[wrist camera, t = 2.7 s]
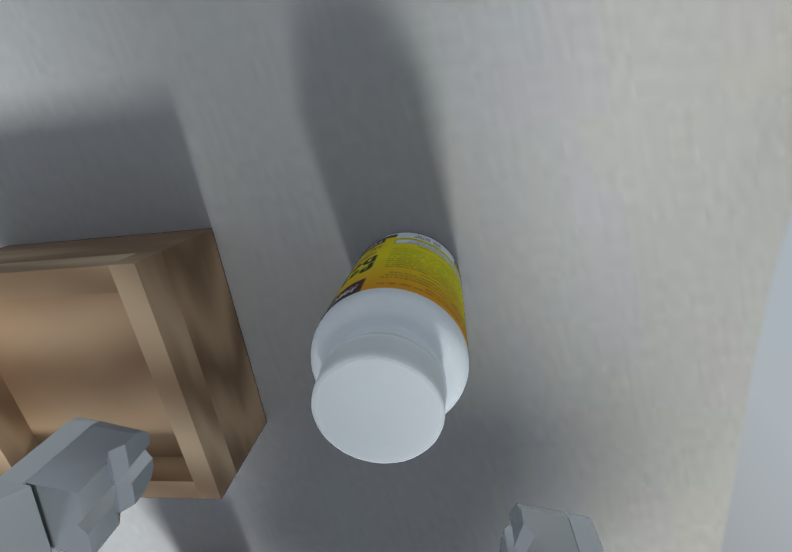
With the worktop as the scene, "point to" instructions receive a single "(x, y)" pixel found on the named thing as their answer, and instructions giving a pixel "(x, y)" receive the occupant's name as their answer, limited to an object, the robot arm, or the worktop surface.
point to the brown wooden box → (129, 353)
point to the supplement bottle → (391, 351)
